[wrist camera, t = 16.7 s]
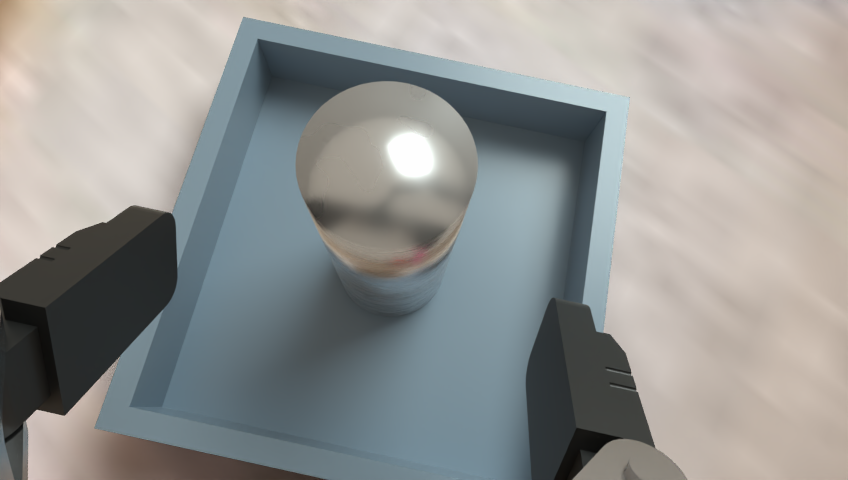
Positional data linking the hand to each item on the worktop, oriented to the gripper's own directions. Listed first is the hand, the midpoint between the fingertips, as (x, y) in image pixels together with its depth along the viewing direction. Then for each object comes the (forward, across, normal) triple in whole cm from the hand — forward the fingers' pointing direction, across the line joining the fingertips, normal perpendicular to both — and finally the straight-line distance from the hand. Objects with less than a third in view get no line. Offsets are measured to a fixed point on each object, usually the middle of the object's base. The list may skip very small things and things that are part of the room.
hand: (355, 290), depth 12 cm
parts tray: (+9, 0, +5) cm, 11 cm away
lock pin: (+8, 0, +4) cm, 10 cm away
